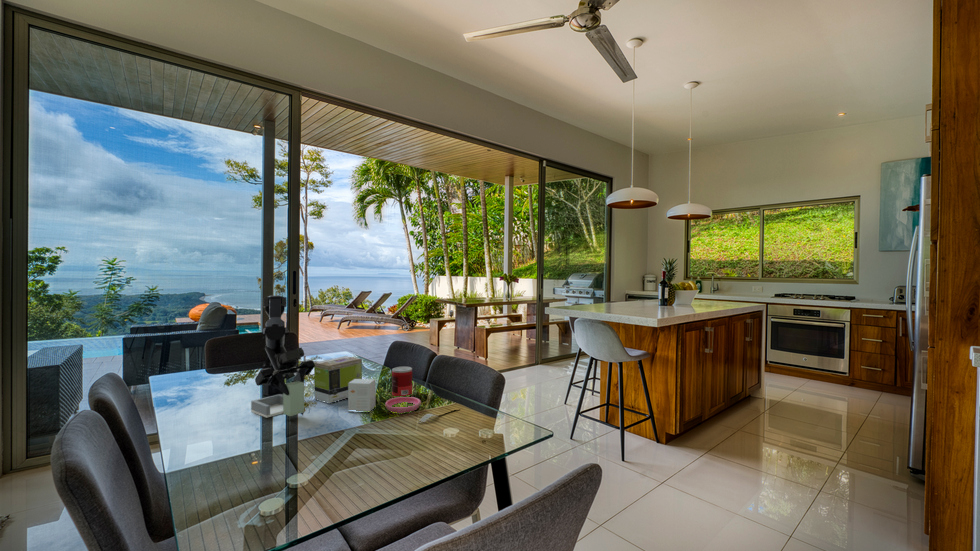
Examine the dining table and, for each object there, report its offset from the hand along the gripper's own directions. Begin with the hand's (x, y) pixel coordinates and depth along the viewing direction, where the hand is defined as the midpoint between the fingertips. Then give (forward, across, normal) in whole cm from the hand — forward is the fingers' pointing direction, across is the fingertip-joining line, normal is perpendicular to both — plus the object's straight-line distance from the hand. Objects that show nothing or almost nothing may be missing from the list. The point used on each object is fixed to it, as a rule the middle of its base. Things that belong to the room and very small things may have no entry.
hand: (296, 392), depth 142 cm
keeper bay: (-3, 0, +16) cm, 16 cm away
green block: (+4, 0, +6) cm, 7 cm away
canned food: (+13, +39, 0) cm, 41 cm away
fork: (+33, +31, -19) cm, 49 cm away
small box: (+14, +19, -1) cm, 23 cm away
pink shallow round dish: (+22, +28, -9) cm, 36 cm away
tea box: (0, +23, +13) cm, 26 cm away
